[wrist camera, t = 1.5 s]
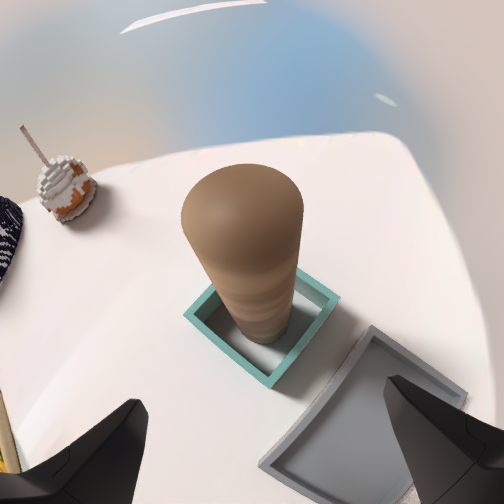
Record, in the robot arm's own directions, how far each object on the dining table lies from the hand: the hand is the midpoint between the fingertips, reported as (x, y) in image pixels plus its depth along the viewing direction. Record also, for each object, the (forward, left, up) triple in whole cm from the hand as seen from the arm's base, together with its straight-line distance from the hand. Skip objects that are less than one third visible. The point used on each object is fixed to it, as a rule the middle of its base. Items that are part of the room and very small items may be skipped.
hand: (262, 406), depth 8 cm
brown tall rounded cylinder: (+5, +5, -13) cm, 14 cm away
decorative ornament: (0, +35, -13) cm, 37 cm away
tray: (+2, -9, -13) cm, 16 cm away
